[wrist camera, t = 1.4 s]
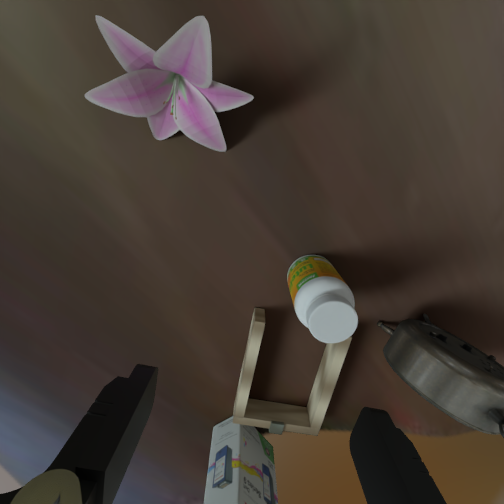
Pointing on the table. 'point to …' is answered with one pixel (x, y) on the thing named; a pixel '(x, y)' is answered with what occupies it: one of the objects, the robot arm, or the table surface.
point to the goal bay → (280, 414)
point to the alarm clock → (448, 373)
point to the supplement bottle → (322, 299)
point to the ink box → (240, 466)
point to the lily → (169, 84)
